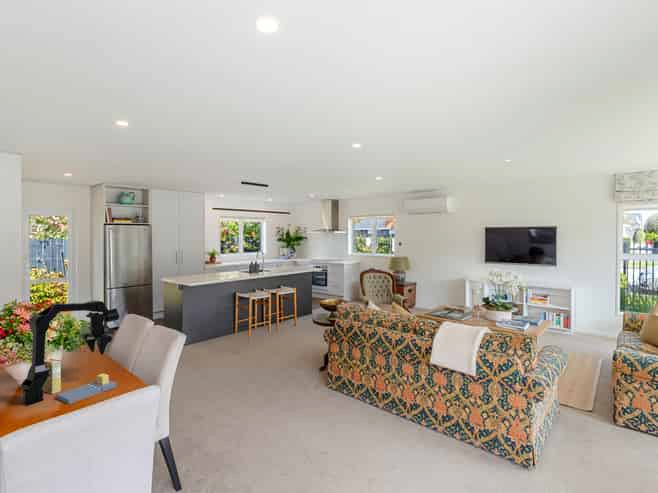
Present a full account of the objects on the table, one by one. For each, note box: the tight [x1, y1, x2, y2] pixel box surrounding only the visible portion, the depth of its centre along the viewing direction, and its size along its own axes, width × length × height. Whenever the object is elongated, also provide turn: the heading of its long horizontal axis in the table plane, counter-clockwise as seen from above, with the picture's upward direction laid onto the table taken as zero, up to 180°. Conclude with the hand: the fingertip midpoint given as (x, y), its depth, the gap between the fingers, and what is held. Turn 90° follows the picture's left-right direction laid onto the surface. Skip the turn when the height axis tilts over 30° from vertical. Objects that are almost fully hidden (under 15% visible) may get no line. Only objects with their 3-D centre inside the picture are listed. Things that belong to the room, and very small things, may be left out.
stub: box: [88, 373, 118, 393], centre depth 177 cm, size 7×12×6 cm, turn 60°
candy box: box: [42, 358, 62, 395], centre depth 173 cm, size 9×4×15 cm, turn 66°
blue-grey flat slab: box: [55, 383, 103, 405], centre depth 168 cm, size 14×12×2 cm
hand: (97, 353), depth 186 cm, fingers open, 9 cm apart
